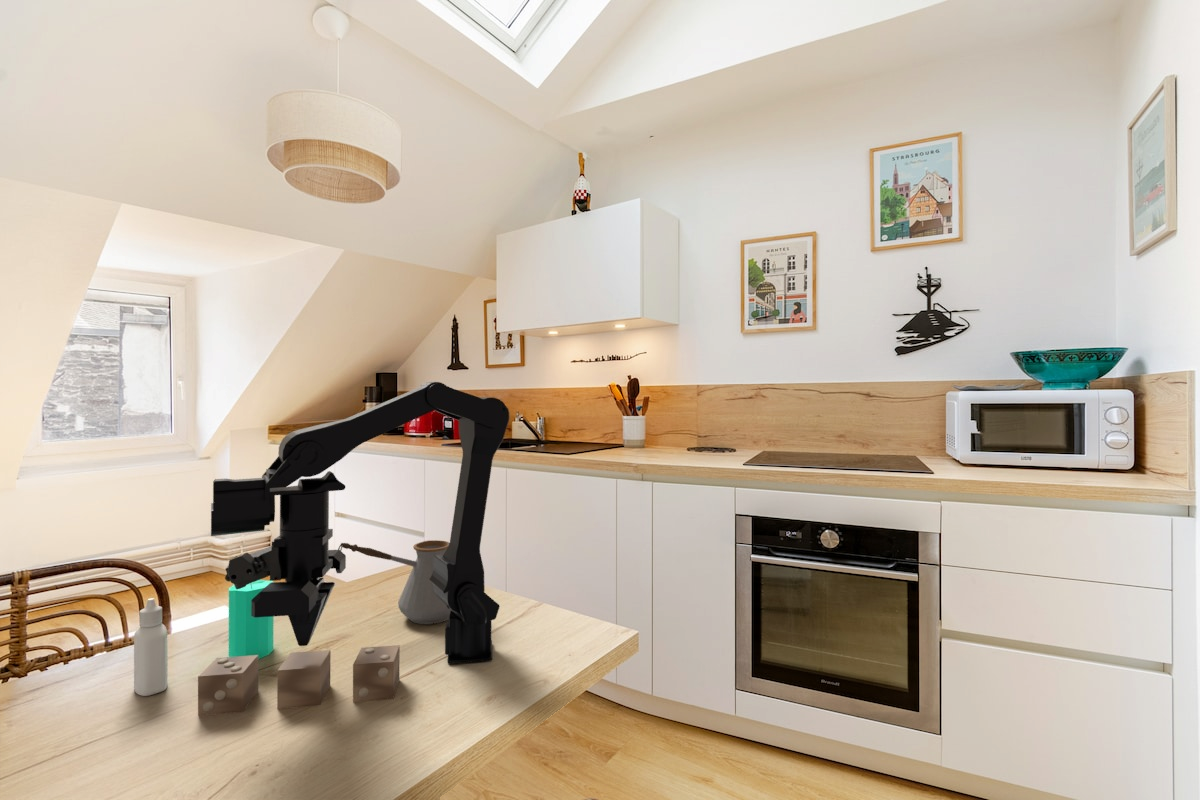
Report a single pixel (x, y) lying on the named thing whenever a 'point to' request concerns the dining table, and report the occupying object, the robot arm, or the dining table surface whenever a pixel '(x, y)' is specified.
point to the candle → (248, 623)
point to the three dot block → (227, 685)
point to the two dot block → (376, 673)
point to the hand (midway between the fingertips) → (303, 644)
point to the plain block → (303, 679)
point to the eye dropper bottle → (150, 651)
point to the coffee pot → (417, 582)
